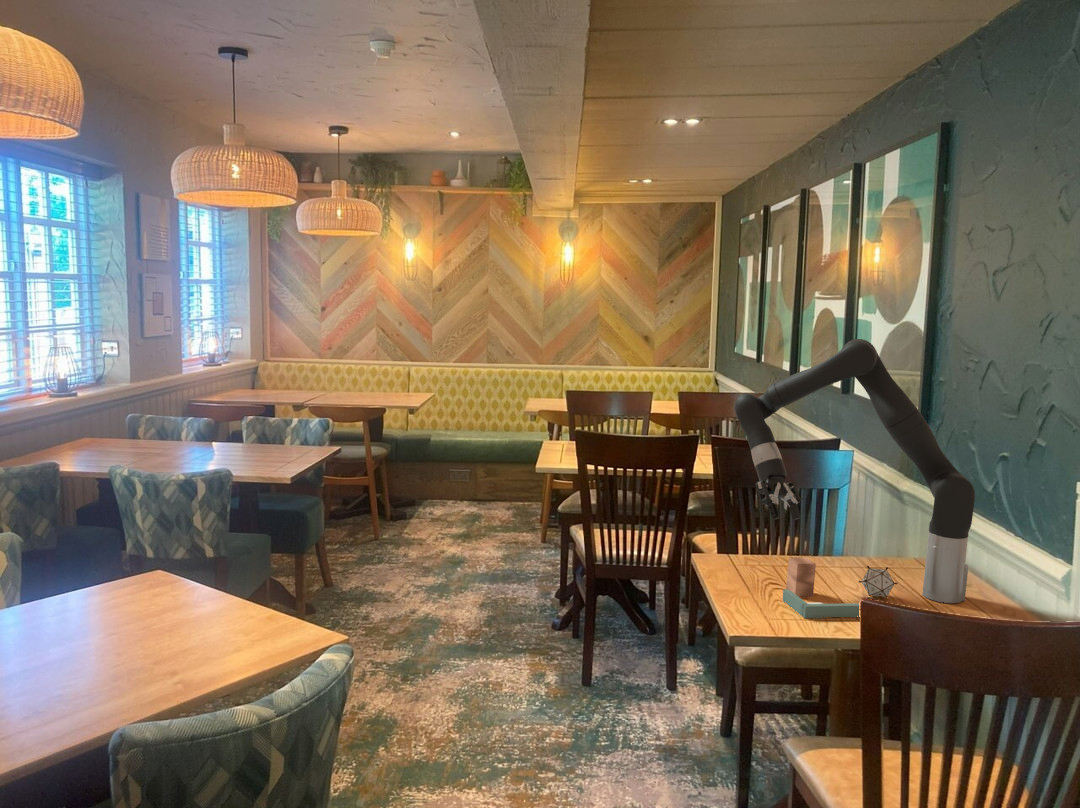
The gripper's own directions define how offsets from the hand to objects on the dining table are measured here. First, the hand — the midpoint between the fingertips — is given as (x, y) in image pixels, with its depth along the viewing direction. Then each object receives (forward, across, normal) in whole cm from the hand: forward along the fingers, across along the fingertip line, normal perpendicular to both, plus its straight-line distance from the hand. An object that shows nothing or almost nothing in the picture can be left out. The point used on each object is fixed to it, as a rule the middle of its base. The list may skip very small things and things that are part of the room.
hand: (786, 518), depth 211 cm
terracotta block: (+19, +1, +4) cm, 20 cm away
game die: (+24, +18, -6) cm, 30 cm away
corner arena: (+25, -3, -4) cm, 25 cm away
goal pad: (+24, -5, -3) cm, 25 cm away
